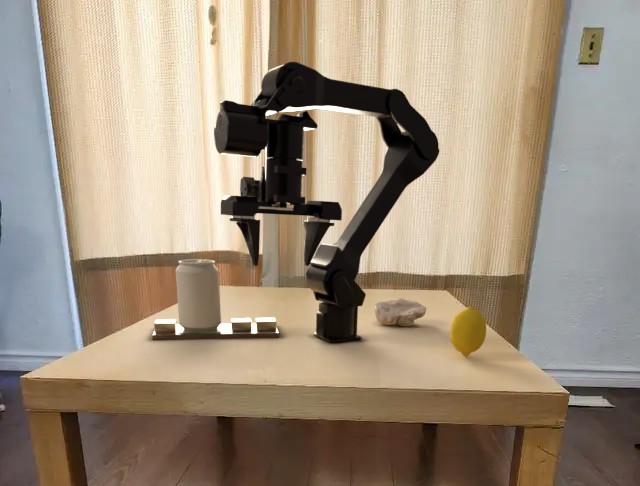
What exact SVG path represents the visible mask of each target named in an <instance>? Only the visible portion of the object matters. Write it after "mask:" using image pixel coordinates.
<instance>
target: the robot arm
mask: <svg viewBox="0 0 640 486" xmlns="http://www.w3.org/2000/svg"><path fill="white" fill-rule="evenodd" d="M314 109H318V110H319V109H320V110H327V111H334V112H341V113H346V114H347V113H348V114H353V115H354V114H355V115H362V116H368V117H373V118H374V117H375V119H376V120H377V122H378V125H379V130H380V135H381V138H382V141H383V142H384V144H385V146H386V147H387V149H386V152H385V154H384V158H383V165H382V171H381V174H380V175H379V177H378V178H377V179H376V181H375V183H374V184H373V185H372V187H371V189H370V190H369V191H368V193H367V195H366V196H365V197H364V199H363V201H362V202H361V204H360V205H359V207H358V208H357V210H356V212H355V213H354V214H353V216H352V217H351V219H350V221H349V222H348V224H347V225H346V226H345V228H344V230H343V231H342V232H341V234H340V236H339V237H338V239H337V240H336V241H335V242H334V243H332V244H327V243H321V242H322V241H323V238H324V237H325V235H326V234H327V232H328V230H329V228H330V227H335V222H331V221H342V220H343V218H342V217H343V209H342V206H341V204H340V202H339V201H326V200H307V201H306V196H302V195H303V194H302V193H303V176H307V167H303V166H304V141H305V140H304V139H305V137H304V136H305V132H306V131H310V130H311V131H312V130H316V129H317V128H318V126H319V125H318V124H317V122H316V121H315V120H314V119H313V118H312V117H311V115H310V113H309V111H308V110H314ZM298 111H300V112H299V113H298V114H297V115H293V114H287V113H285V112H298ZM278 113H282V114H280V115H278V117H277V118H276V119H271V118H267V116H269V115H274V114H278ZM401 129H402V130H403V131H402V130H401ZM213 140H214V145H215V149H216V152H217V153H218V154H220V155H228V156H229V155H230V156H242V157H252V158H258V156H259V155H260V154H261V153H262V151H265V156H264V157H265V160H264V161H265V165H264V166H261V172H260V178H259V180H258V179H255V178H254V177H253V176H243V177H241V178H240V183H239V184H240V185H239V194H240V195H224V196H223V197H222V198H221V201H220V215H223V216H231V217H228V219H229V221H230V222H234V223H235V224H236V226H237V227H238V228H239V230H240V232H241V234H242V236H243V237H242V238H243V239H244V242H245V244H246V248H247V251H248V254H249V258H250V260H251V264H252V266H254V267H255V266H256V267H257V266H258V264H259V259H260V242H261V241H260V240H261V239H260V235H261V219H259V218H257V219H256V216H257V214H264V215H284V216H286V215H287V216H302V217H303V216H305V217H307V220H302V224H303V227H304V246H303V247H304V249H303V265H304V266H306V267H307V269H306V272H305V277H306V283H307V286H308V287H309V289H310V290H311V291H312V292H313V296H314V299H315V301H319V302H318V311H317V312H316V314H315V315H316V317H315V318H316V320H315V322H316V323H315V332H314V333H313V336H314V337H316V338H319V339H321V340H323V341H326V342H328V343H339V342H340V343H341V342H348V341H357V340H362V338H363V337H362V335H359V334H358V318H359V317H358V314H359V307H362V306H363V305H364V302H365V300H366V296H367V293H366V292H365V291H364V290H363V289H362V288H361V286H360V285H359V284H358V283H357V282H356V279H357V277H358V275H359V272H360V265H361V264H360V263H361V258H362V255H363V253H364V252H365V250H366V249H367V247H368V246H369V244H370V243H371V241H372V240H373V238H374V236H375V235H376V234H377V232H378V230H379V229H380V227H381V226H382V224H383V223H384V222H385V220H386V218H387V217H388V215H389V214H390V212H391V211H392V209H393V208H394V206H395V205H396V203H397V202H398V200H399V199H400V197H401V196H402V194H403V192H405V190H406V188H407V187H408V186H410V185H411V184H413V182H415V181H416V180H417V179H419V178H420V177H422V176H423V175H424V174H425V173H426V172H428V170H429V169H430V168H431V166H433V164H434V163H435V162H436V161H437V159H438V157H439V154H440V146H439V145H440V143H439V139H438V137H437V134H436V133H435V132H434V131H433V130H432V129H431V127H430V125H429V123H428V121H427V119H425V117H424V116H423V115H422V114H421V113H420V112H419V111H417V110H416V109H415V107H414V106H413V105H411V102H410V101H409V100H408V98H407V95H406V94H405V93H404V92H403V91H402V90H400V89H399V88H391V89H389V88H384V87H378V86H372V85H366V84H361V83H355V82H351V81H350V82H349V81H344V80H338V79H334V78H333V79H332V78H329V77H327V76H324V75H323V74H322V73H321V72H319V71H318V70H317V69H315V68H312V67H310V66H307V65H305V64H302V63H300V62H297V61H289V62H286V63H284V64H281V65H279V66H276V67H274V68H271V69H269V70H268V71H267V72H266V73H265V74H264V76H263V78H262V80H261V85H260V92H259V93H258V95H257V96H255V98H254V100H253V102H252V103H251V104H243V103H238V102H235V101H232V100H228V99H227V100H222V101H219V110H218V114H217V117H216V119H215V127H213ZM288 204H289V206H292V207H288Z"/></svg>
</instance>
